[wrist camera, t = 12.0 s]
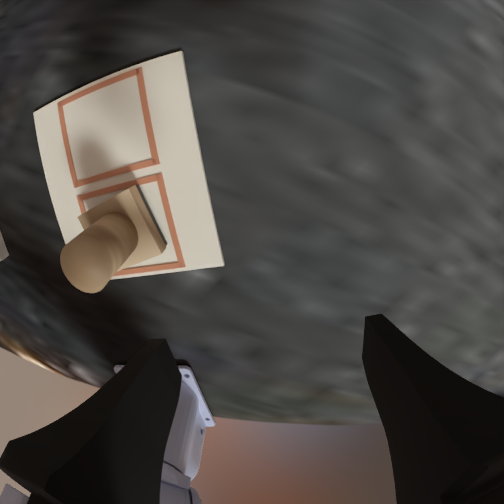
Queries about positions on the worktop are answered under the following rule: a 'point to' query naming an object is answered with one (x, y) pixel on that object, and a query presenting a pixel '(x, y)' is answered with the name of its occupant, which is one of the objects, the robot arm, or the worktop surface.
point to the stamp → (112, 240)
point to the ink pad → (3, 249)
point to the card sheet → (133, 159)
